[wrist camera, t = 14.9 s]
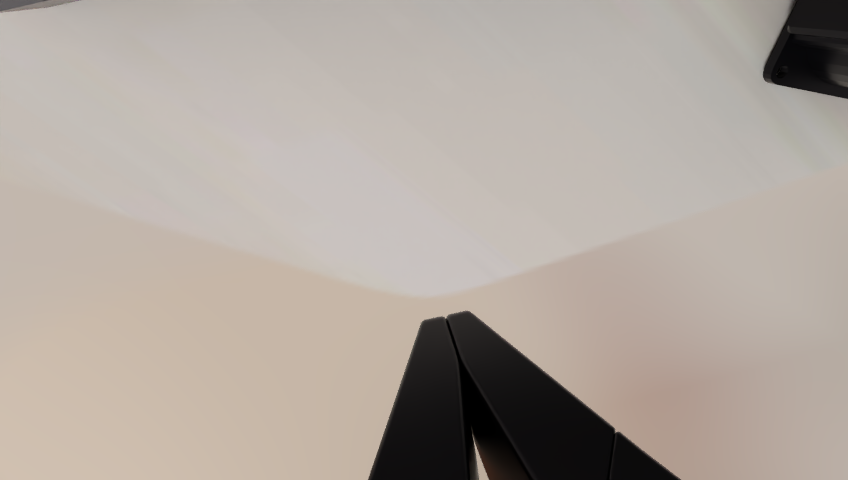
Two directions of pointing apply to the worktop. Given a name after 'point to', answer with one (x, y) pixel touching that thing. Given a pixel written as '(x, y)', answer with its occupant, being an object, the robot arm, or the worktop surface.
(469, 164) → the worktop surface
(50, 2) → the tile
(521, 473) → the robot arm
